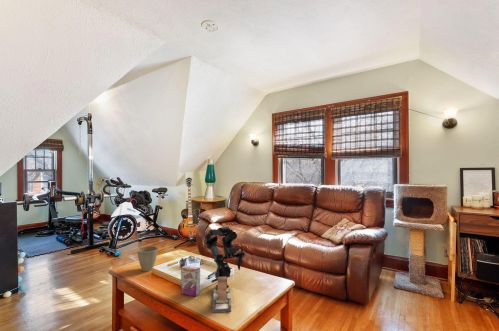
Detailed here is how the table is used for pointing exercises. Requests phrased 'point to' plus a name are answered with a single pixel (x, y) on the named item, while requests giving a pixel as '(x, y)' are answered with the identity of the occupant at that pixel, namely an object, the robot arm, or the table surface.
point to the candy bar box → (190, 280)
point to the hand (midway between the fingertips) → (232, 271)
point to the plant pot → (147, 257)
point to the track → (222, 306)
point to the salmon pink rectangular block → (222, 290)
